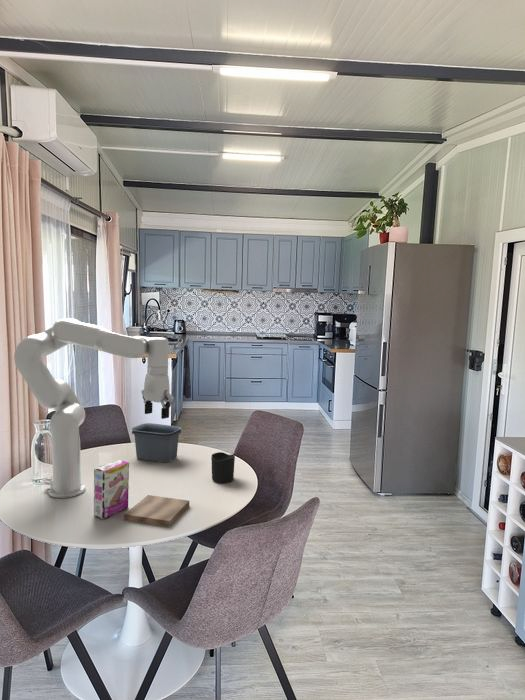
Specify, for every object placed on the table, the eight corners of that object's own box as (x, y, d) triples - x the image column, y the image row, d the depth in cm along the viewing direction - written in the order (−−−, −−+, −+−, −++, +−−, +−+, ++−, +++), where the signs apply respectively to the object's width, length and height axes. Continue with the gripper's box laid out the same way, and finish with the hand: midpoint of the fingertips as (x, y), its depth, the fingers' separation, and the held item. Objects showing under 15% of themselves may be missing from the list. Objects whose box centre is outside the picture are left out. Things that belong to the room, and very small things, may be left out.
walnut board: (124, 520, 151) (124, 514, 151) (147, 500, 167) (147, 495, 166) (169, 526, 147) (169, 520, 147) (189, 506, 163) (189, 500, 163)
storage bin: (127, 459, 209) (127, 428, 208) (147, 450, 223) (147, 420, 222) (168, 466, 202) (169, 434, 200) (186, 455, 216) (186, 425, 215)
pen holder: (229, 474, 194) (230, 451, 193) (237, 482, 186) (238, 458, 185) (208, 477, 191) (208, 453, 190) (215, 485, 182) (215, 460, 181)
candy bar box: (103, 520, 151) (103, 471, 149) (93, 516, 153) (92, 468, 152) (129, 507, 160) (129, 461, 159) (119, 504, 163) (119, 459, 161)
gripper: (135, 368, 175) (134, 413, 176) (165, 374, 164) (163, 421, 166) (151, 367, 181) (150, 410, 182) (181, 372, 170) (179, 418, 172)
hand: (156, 415), depth 174 cm, fingers open, 9 cm apart
